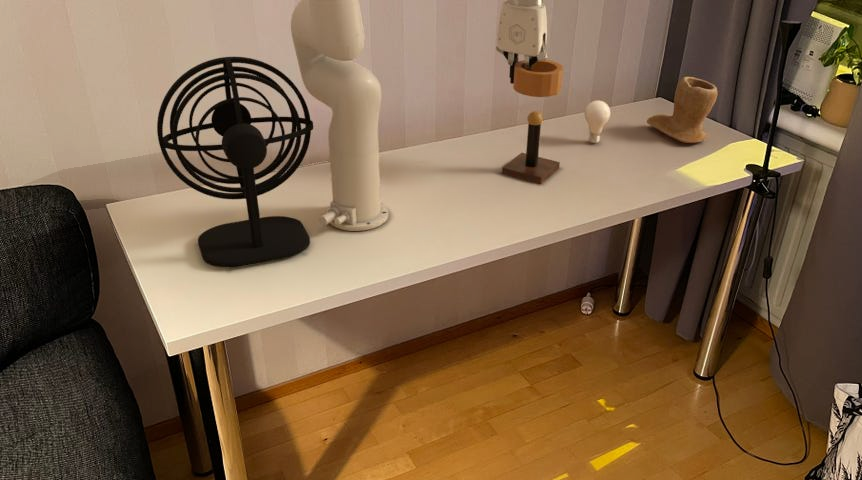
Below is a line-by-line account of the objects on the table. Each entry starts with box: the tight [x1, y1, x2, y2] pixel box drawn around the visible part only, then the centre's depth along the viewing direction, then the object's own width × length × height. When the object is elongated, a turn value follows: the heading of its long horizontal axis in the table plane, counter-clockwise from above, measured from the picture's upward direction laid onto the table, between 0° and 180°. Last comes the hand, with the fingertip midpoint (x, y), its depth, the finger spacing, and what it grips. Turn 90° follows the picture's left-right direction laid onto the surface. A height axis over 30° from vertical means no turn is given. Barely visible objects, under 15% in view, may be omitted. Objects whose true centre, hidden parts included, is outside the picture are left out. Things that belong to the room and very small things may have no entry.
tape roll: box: [512, 59, 564, 98], centre depth 171 cm, size 10×10×5 cm
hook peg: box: [525, 110, 544, 167], centre depth 178 cm, size 3×3×13 cm
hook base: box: [501, 152, 560, 185], centre depth 182 cm, size 10×10×2 cm
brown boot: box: [646, 76, 718, 144], centre depth 201 cm, size 15×12×15 cm
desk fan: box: [156, 56, 314, 269], centre depth 141 cm, size 27×18×35 cm, turn 115°
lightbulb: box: [584, 99, 612, 144], centre depth 195 cm, size 6×6×11 cm
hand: (519, 82), depth 173 cm, fingers closed on tape roll
